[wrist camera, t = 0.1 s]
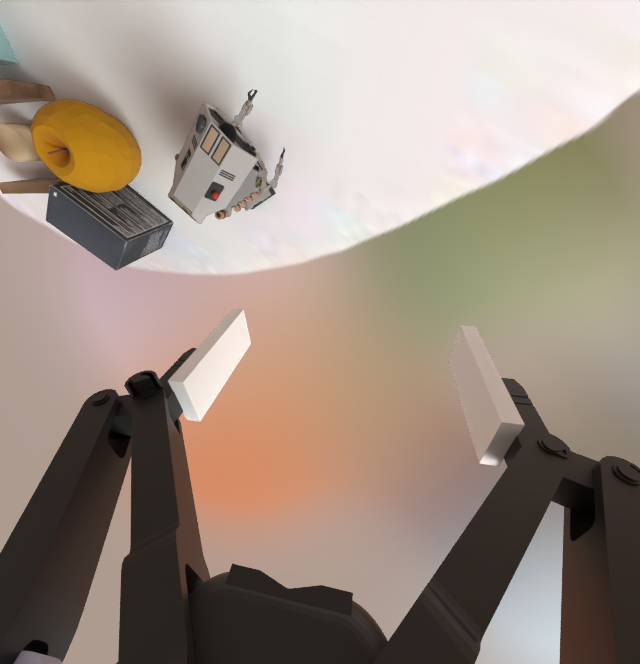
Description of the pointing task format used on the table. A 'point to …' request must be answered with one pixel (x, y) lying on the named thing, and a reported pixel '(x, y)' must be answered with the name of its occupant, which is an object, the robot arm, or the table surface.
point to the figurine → (220, 167)
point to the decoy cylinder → (17, 142)
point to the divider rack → (18, 93)
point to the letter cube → (6, 50)
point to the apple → (85, 146)
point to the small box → (108, 222)
